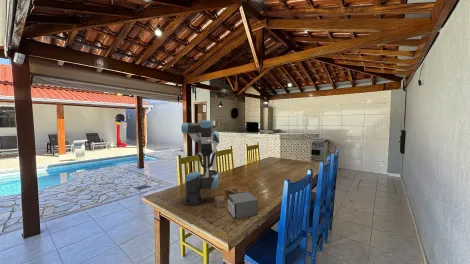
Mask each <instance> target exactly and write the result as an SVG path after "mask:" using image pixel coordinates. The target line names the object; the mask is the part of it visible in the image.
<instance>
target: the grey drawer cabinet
mask: <svg viewBox="0 0 470 264" xmlns="http://www.w3.org/2000/svg"><path fill="white" fill-rule="evenodd" d="M249 192H250V191H249ZM249 192H245V193H238V194H232V195H229V199H228V200H230V202H231V203H232V204H233V205H234V206H235V207H236V216H235V218H236V219H242V218H246V217H250V216H251V217H252V216H256V215H258V199H257V198H256V197H255V196H254V195H253V194H252V193H249Z"/></svg>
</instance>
